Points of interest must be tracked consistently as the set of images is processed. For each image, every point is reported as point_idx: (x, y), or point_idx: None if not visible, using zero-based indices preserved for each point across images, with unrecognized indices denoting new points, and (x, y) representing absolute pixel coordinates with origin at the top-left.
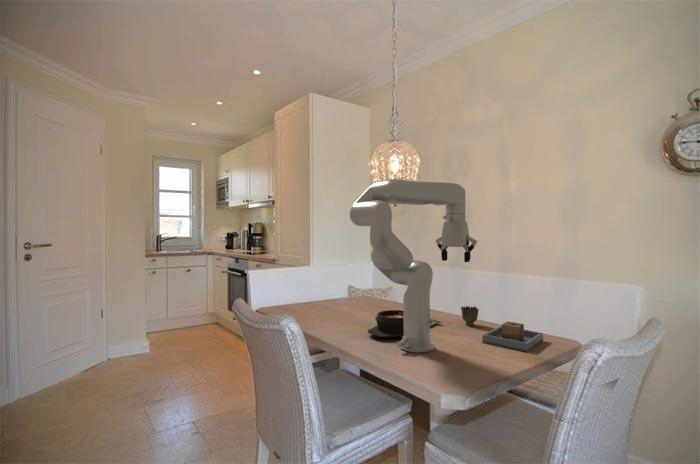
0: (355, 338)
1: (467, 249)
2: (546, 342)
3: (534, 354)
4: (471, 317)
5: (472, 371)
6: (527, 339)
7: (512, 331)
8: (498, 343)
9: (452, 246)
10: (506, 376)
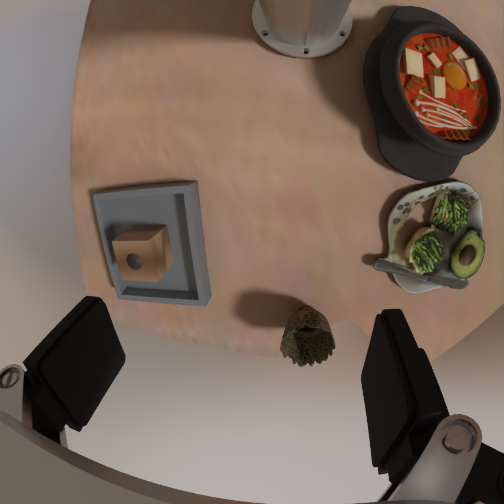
0: (455, 6)
1: (4, 388)
2: None
3: (92, 189)
4: (294, 316)
5: (127, 6)
6: None
7: (131, 235)
8: (154, 185)
9: (132, 479)
10: (81, 41)
